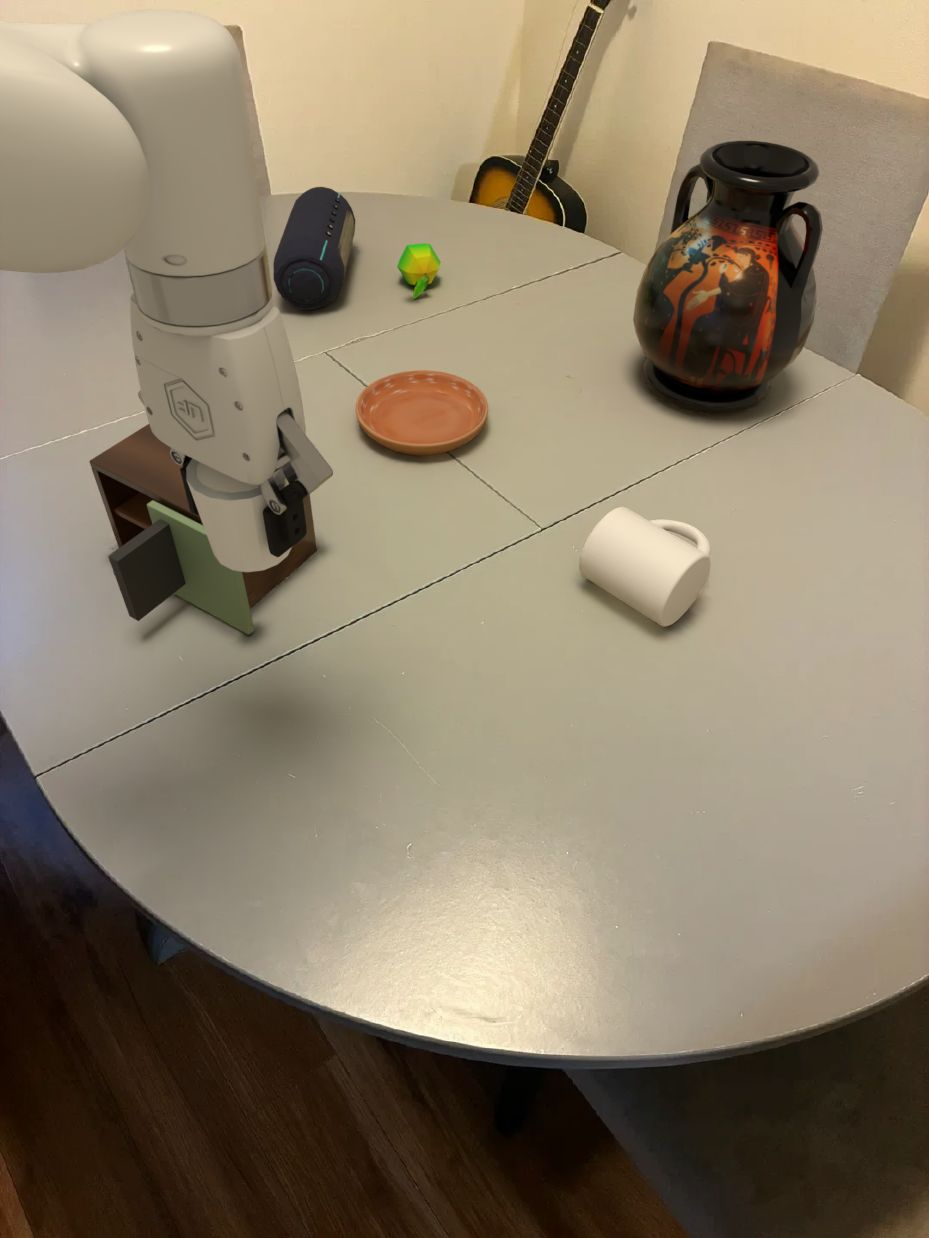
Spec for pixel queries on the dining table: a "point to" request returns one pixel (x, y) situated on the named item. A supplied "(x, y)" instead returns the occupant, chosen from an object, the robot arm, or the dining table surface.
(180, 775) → the dining table surface
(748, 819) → the dining table surface
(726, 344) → the amphora vase
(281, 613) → the dining table surface
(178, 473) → the cupboard
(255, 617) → the dining table surface
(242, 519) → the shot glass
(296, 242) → the portable speaker
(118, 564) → the sliding door
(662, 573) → the mug
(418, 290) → the apple
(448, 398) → the saucer
